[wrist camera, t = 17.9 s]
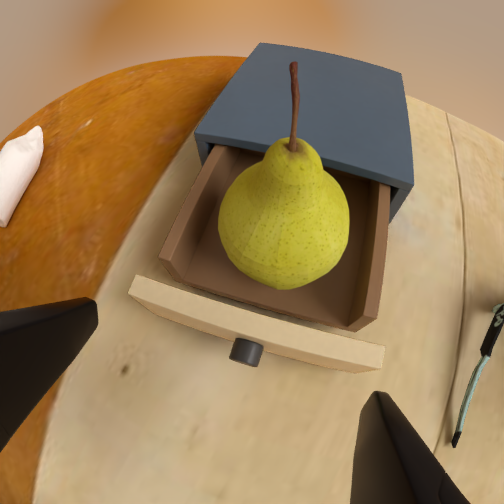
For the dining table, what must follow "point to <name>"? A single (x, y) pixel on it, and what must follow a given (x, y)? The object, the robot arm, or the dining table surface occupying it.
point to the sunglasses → (480, 366)
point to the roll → (18, 170)
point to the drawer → (255, 293)
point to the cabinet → (318, 114)
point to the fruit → (285, 213)
